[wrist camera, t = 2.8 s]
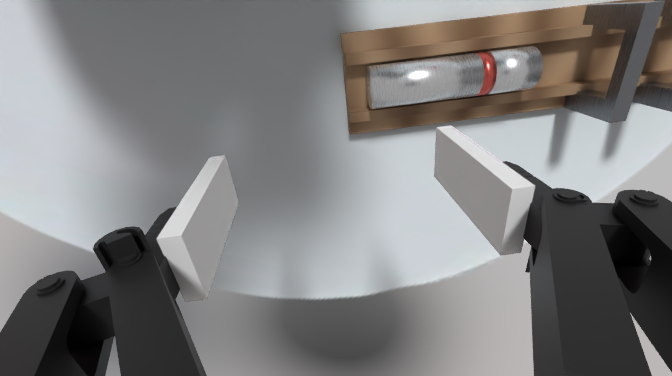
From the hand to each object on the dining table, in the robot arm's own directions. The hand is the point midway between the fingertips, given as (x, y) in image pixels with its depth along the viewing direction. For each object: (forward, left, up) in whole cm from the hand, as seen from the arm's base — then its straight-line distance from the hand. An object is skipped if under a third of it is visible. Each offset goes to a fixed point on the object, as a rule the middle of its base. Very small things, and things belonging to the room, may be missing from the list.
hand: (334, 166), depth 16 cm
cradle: (+22, 0, -20) cm, 30 cm away
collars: (+31, 0, -19) cm, 37 cm away
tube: (+13, 0, -19) cm, 23 cm away
